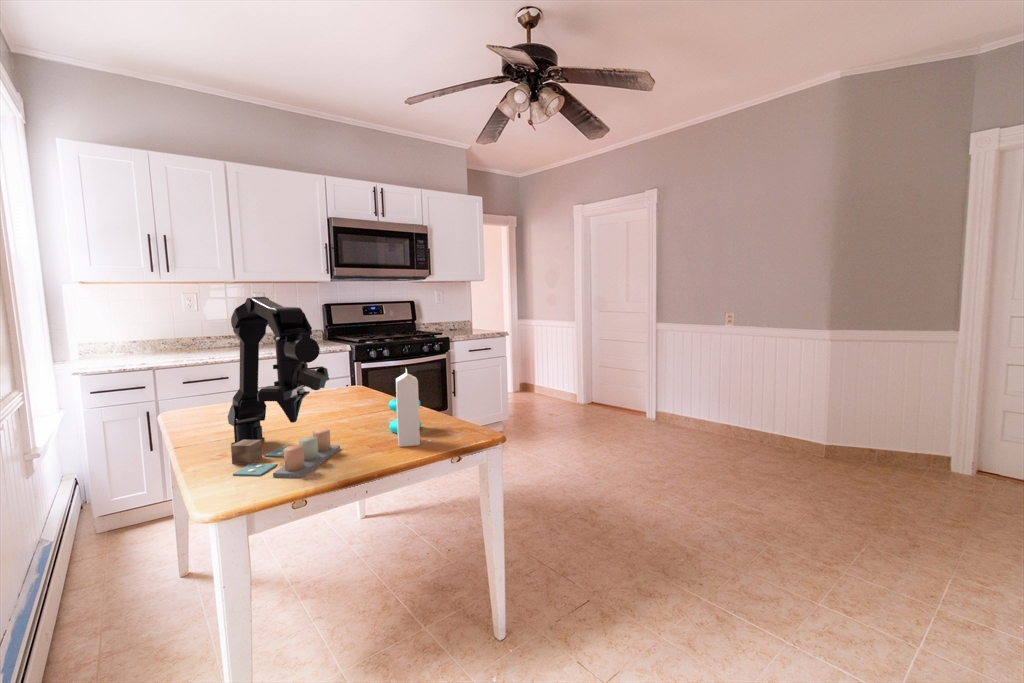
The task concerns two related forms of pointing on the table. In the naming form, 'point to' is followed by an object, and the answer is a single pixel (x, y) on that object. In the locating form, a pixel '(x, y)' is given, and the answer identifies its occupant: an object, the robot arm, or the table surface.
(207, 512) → the table surface
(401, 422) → the milk
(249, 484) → the table surface
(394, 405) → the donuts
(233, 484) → the table surface
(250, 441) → the brown cube
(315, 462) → the board
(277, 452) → the pad three
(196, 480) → the table surface
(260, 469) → the pad two
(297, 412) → the robot arm
